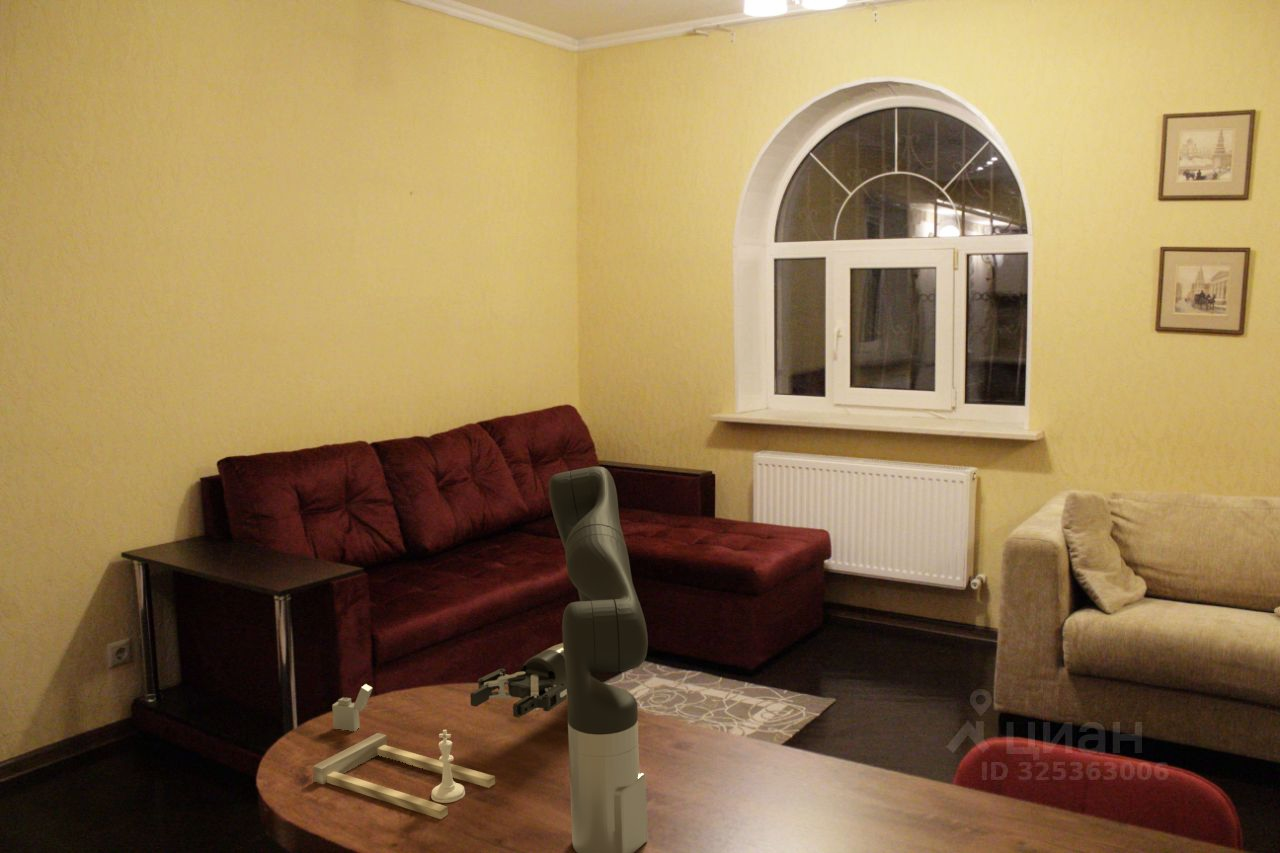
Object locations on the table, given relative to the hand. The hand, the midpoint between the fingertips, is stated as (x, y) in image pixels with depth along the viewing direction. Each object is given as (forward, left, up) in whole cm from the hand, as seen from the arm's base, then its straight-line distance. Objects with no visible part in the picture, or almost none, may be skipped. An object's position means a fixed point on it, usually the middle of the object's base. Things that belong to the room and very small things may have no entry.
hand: (493, 706), depth 163 cm
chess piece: (0, +11, -10) cm, 15 cm away
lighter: (+30, +1, -10) cm, 31 cm away
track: (+8, +11, -9) cm, 17 cm away
